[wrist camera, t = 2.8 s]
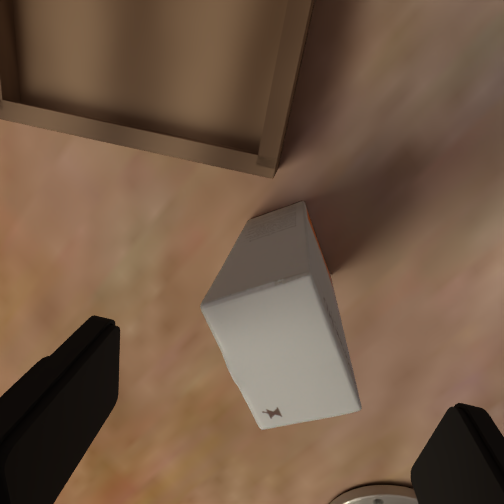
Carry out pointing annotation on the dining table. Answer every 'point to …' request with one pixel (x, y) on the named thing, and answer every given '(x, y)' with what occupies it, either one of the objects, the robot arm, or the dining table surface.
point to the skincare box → (282, 323)
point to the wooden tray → (158, 74)
